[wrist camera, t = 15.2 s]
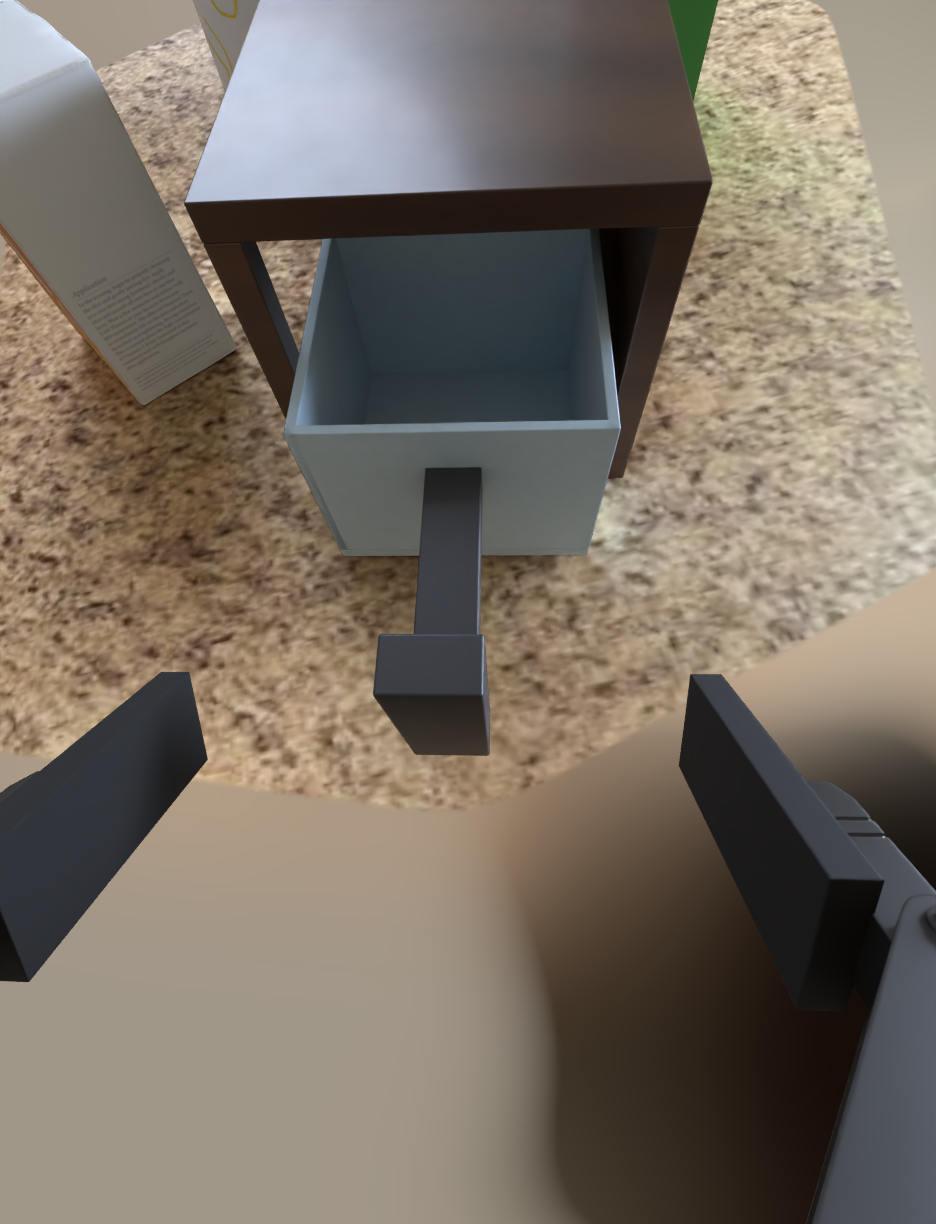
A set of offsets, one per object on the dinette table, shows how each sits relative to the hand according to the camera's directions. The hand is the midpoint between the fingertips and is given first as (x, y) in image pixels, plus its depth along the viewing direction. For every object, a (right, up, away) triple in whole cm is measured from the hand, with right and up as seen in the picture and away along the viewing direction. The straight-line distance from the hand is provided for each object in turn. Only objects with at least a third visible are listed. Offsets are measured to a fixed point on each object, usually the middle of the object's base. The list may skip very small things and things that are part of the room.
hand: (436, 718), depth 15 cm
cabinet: (+1, +16, +16) cm, 22 cm away
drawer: (+1, +6, +11) cm, 13 cm away
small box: (-17, +18, +18) cm, 31 cm away
